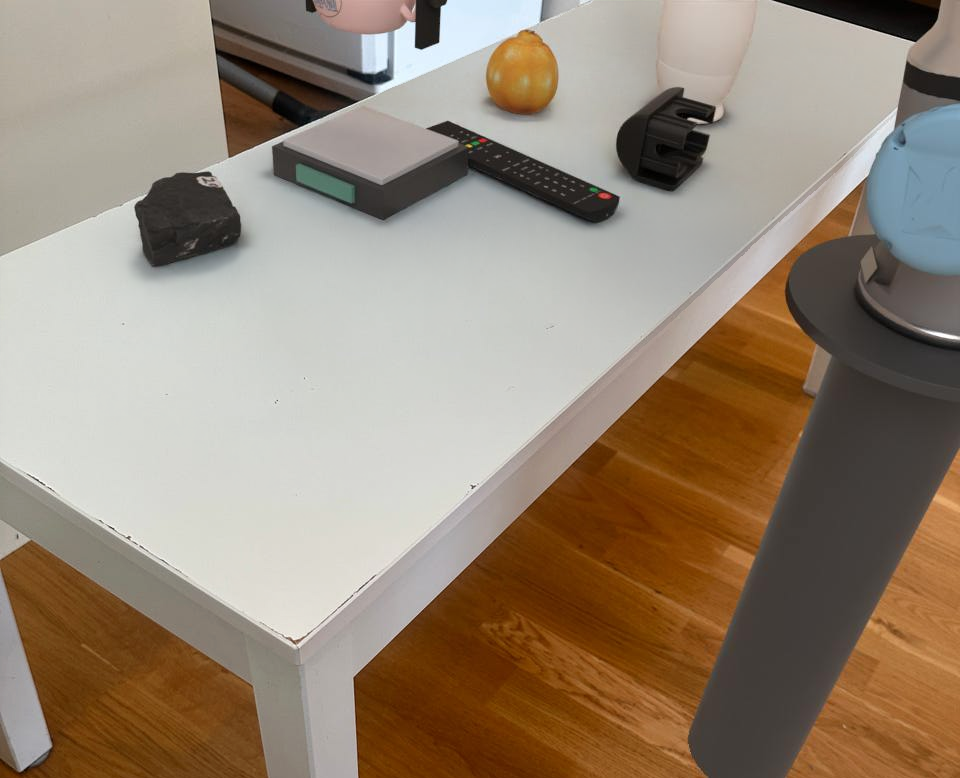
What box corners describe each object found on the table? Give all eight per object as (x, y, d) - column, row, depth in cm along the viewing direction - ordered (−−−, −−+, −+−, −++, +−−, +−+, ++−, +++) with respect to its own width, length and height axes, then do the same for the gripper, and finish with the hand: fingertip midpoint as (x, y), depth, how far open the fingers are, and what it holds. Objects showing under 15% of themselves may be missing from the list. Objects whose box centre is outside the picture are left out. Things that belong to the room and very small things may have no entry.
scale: (467, 174, 105) (469, 140, 103) (380, 222, 97) (380, 186, 94) (362, 134, 110) (362, 101, 107) (270, 176, 102) (267, 141, 99)
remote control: (447, 133, 112) (447, 120, 111) (621, 211, 102) (624, 198, 101) (413, 145, 109) (414, 132, 108) (590, 227, 99) (592, 214, 98)
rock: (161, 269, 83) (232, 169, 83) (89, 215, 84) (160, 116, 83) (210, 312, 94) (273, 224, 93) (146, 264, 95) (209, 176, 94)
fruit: (551, 69, 121) (527, 7, 114) (578, 102, 116) (556, 39, 110) (492, 109, 122) (465, 50, 115) (517, 143, 118) (491, 84, 111)
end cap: (646, 144, 114) (658, 79, 109) (704, 162, 112) (720, 96, 107) (609, 175, 108) (620, 107, 103) (670, 194, 106) (685, 126, 101)
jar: (692, 136, 116) (726, -13, 105) (626, 105, 121) (651, -41, 110) (748, 117, 122) (786, -27, 111) (682, 88, 126) (712, -53, 115)
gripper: (218, -313, 79) (244, 1, 95) (473, -261, 71) (454, 73, 87) (284, -316, 83) (298, -15, 99) (530, -267, 75) (503, 52, 91)
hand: (371, 26), depth 93 cm, fingers closed on mug, 12 cm apart
